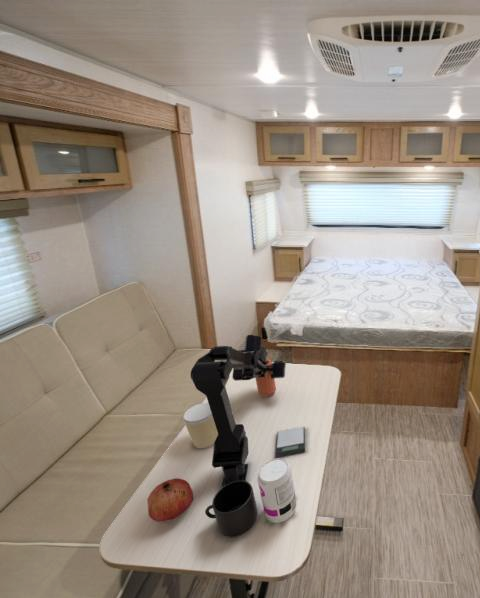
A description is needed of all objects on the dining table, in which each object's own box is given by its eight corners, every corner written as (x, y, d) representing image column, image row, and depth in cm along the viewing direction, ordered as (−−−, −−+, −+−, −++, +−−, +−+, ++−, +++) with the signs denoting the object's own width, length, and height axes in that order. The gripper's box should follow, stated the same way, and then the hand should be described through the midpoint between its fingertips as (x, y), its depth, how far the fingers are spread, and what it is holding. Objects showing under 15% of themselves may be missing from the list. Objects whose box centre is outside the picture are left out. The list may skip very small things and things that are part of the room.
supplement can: (264, 528, 89) (255, 487, 83) (266, 500, 96) (258, 460, 90) (296, 520, 91) (289, 479, 85) (296, 493, 98) (290, 453, 92)
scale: (305, 451, 112) (304, 447, 111) (276, 457, 110) (275, 452, 109) (304, 430, 121) (304, 425, 120) (278, 435, 119) (277, 430, 118)
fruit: (204, 495, 97) (196, 469, 93) (182, 530, 88) (173, 503, 84) (167, 494, 98) (158, 468, 94) (142, 528, 88) (131, 501, 85)
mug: (214, 508, 94) (207, 484, 90) (260, 500, 96) (255, 477, 92) (203, 543, 85) (195, 518, 82) (254, 534, 87) (248, 509, 84)
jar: (275, 394, 137) (270, 366, 132) (257, 397, 135) (252, 369, 130) (276, 384, 143) (272, 357, 138) (259, 387, 141) (254, 360, 136)
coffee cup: (227, 430, 120) (220, 403, 116) (211, 451, 112) (203, 422, 107) (202, 428, 121) (194, 401, 117) (184, 449, 113) (175, 420, 108)
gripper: (281, 343, 127) (290, 354, 142) (229, 346, 126) (243, 356, 140) (279, 373, 123) (289, 381, 137) (225, 376, 121) (240, 384, 136)
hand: (265, 374), depth 138 cm, fingers closed on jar, 7 cm apart
